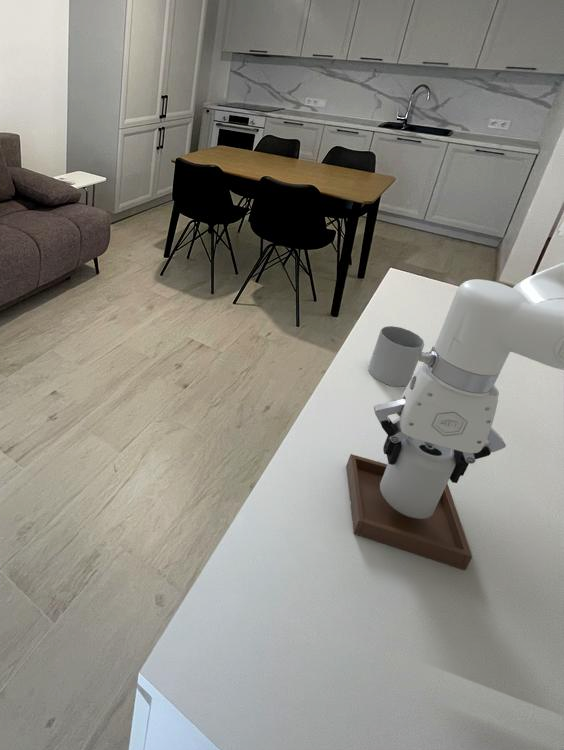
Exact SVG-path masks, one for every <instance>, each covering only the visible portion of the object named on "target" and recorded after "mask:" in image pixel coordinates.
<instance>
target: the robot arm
mask: <svg viewBox="0 0 564 750" xmlns="http://www.w3.org/2000/svg"><path fill="white" fill-rule="evenodd" d="M510 353H514V354H516V355H519V356H522V357H525V358H527V359H529V360H531V361H534V362H537V363H539V364H542V365H545V366H547V367H551V368H554V369H557V370H562V371H564V262H561V263H559V264H556V265H554V266H552V267H549V268H546V269H543V270H541V271H539V272H537V273H534V274H532V275H530V276H528V277H526V278H524V279H522V280H521V281H519V282H518V283H516V284H515V285H514V286H513V287H510V286H508V285H506V284H503V283H501V282H497V281H493V280H489V279H488V280H487V279H478V278H475V279H468V280H466V281H463V282H462V283H461V284H460V285H459V286H458V288H457V290H456V292H455V294H454V296H453V299H452V301H451V305H450V306H449V309H448V311H447V314H446V317H445V319H444V322H443V324H442V327H441V329H440V332H439V334H438V337H437V339H436V342H435V344H434V346H432V347H431V349H430V351H429V352H423V351H422V352H420V353H419V356H418V362H420V363H422V364H421V365H420V367H418V368H417V370H416V371H415V372H414V373H413V376H412V378H411V380H410V382H409V384H408V385H407V386H405V390H404V391H403V393H402V396H401V397H400V399H396V400H393V401H389V402H383V403H379V404H375V405H374V406H373V411H374V415H375V416H376V418H377V420H378V422H379V424H380V426H381V428H382V430H383V431H384V432H385V434H386V435H387V436H386V438H385V441H384V444H383V446H382V447H383V448H382V449H383V450H382V451H383V455H386V458H387V461H388V462H387V464H388V463H389V464H391V465H393V464H395V462H396V460H397V457H398V455H399V452H400V450H401V447H402V445H401V440H403V439H404V438H406V437H408V436H409V437H411V438H414V439H417V440H421V441H424V442H428V443H432V444H435V445H439V446H443V447H446V448H450V449H454V453H455V454H454V457H455V460H456V466H455V468H454V470H453V472H452V474H451V476H450V479H449V481H450V482H451V483H454V484H457V483H458V482H459V480H460V477H463V476H464V475H465V473H466V471H467V469H468V467H469V465H470V464H471V465H473V464H475V463H476V460H479V459H482V458H485V457H489V456H490V455H491V454H492V453H496V452H498V451H501V450H503V449H505V448H506V447H507V445H506V444H507V443H505V441H504V439H503V437H502V436H501V435H500V434H499V433H498V432H497V431H496V430H495V429H494V428H493V427H492V426H493V423H494V420H495V415H496V412H497V407H498V403H499V402H498V401H499V396H500V395H499V394H500V392H499V390H498V388H497V387H496V385H495V384H496V382H497V380H498V379H499V376H500V374H501V372H502V370H503V367H504V365H505V363H506V361H507V359H508V357H509V355H510ZM391 415H397V416H398V418H397V419H395V420H393V421H392V420H391V419H390V417H389V416H391Z"/></svg>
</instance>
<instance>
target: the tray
mask: <svg viewBox="0 0 564 750" xmlns="http://www.w3.org/2000/svg"><path fill="white" fill-rule="evenodd" d="M387 465H388V463H385V462H381V461H376V460H373V459H370V458H365V457H363V456H359V455H355V454H352V453H350V454H349V456H348V460H347V462H346V468H345V469H346V475H347V485H348V494H350V495H349V502H350V501H351V504H350V510H351V511H352V513H351V521H353V522H352V530H354V531H353V534H354V533H355V534H354V535H357V534H358V535H357V536H360V535H361V536H360V537H363V538H366V537H367V539H369V540H372V541H375V542H378V543H381V544H384V545H387V546H390V547H394V548H396V549H399V550H402V551H405V552H408V553H412V554H415V555H418V556H422V557H423V558H427V559H430V560H433V561H437V562H440V563H442V564H445V565H448V566H451V567H454V568H457V569H461V570H464V571H466V570H467V568H468V566H469V565H470V562H471V561H472V559H473V554H472V551H471V549H470V546H469V543H468V540H467V536H466V534H465V531H464V527H463V525H462V522H461V519H460V515H459V512H458V510H457V506H456V504H455V501H454V497H453V495H452V493H451V490H450V486H449V484H448V483H449V482H448V483H447V485H446V487H445V489H444V491H443V493H442V496H441V498H440V500H439V502H438V504H437V506H436V508H435V510H434V513H433V515H432V516H430V517H428V518H423V519H419V518H412V517H408V516H406V515H403V514H401V513H400V512H398V511H396V510H395V509H394V508H393V507H392V506H390V504H389V503H388V502H387V501H386V499H385V498H384V497H383V495H382V493H381V490H380V483H381V480H382V478H383V475H384V473H385V470H386V467H387ZM351 511H350V512H351Z"/></svg>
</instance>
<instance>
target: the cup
mask: <svg viewBox="0 0 564 750" xmlns="http://www.w3.org/2000/svg"><path fill="white" fill-rule="evenodd" d="M424 347H425V341H424V339H423V338H422V337H421V336H420V335H418V334H417V333H415V332H413V331H411V330H409V329H406V328H404V327H399V326H393V325H391V326H390V325H388V326H384V327H382V328H381V329H380V331H379V334H378V337H377V340H376V343H375V345H374V349H373V350H372V355H371V358H370V360H369V364H368V367H367V368H368V372H369V374H370V375H371V377H373V378H374V379H375V380H377V381H379V382H380V383H382V384H385V385H387V386H391V387H396V388H403V387H407V386H408V384H409V382H410V380H411V379H412V377H413V376H414V374H415V370H416V368H417V366H418V362H419V360H418V356H419V353H420V352H423V349H424Z"/></svg>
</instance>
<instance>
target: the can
mask: <svg viewBox="0 0 564 750" xmlns="http://www.w3.org/2000/svg"><path fill="white" fill-rule="evenodd" d="M401 445H402V447H401V450H400V452H399V455H398V457H397V460H396V462H395V464H393V465H391V464H389V463H388V462H387V464H388V465H387V467H386V470H385V473H384V475H383V478H382V480H381V483H380V490H381V493H382V495H383V497H384V498H385V499H386V501H387V502H388V503H389V504H390V506H392V507H393V508H394V509H395V510H396V511H398V512H400V513H401V514H403V515H406V516H408V517H412V518H419V519H423V518H428V517H430V516H432V515H433V513H434V510H435V508H436V506H437V504H438V502H439V500H440V498H441V496H442V493H443V491H444V489H445V487H446V485H447V483H449V481H450V476H451V474H452V472H453V470H454V468H455V466H456V460H455V457H454V454H455V453H454V449H450V448H446V447H443V446H439V445H435V444H432V443H428V442H424V441H421V440H417V439H414V438H411V437H409V436H408V437H406V438H404V439H403V440H401Z"/></svg>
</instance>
